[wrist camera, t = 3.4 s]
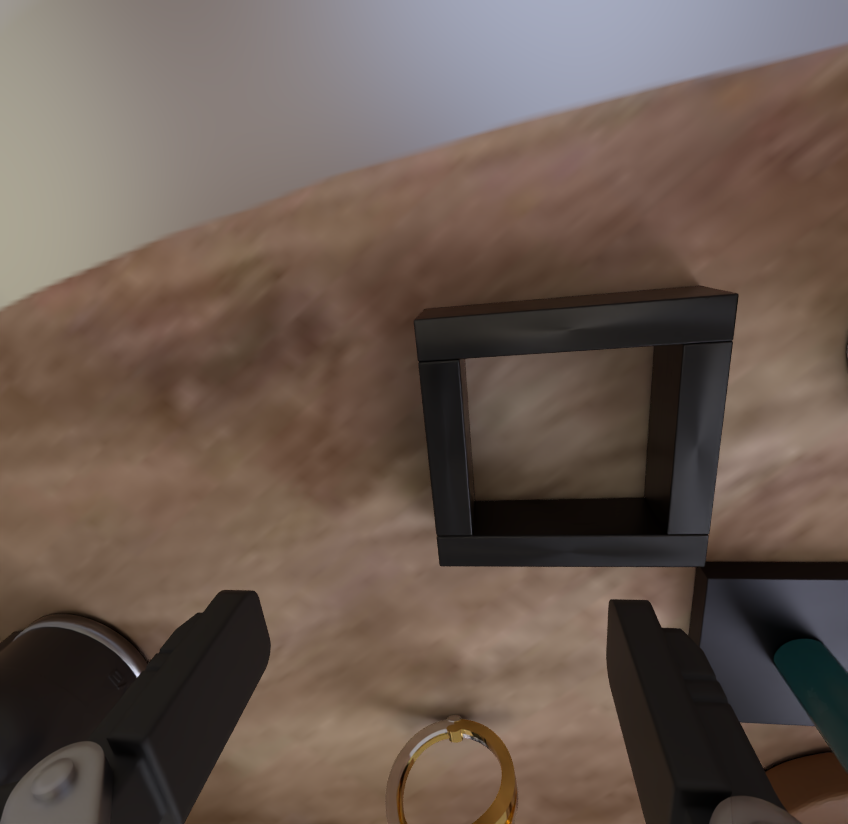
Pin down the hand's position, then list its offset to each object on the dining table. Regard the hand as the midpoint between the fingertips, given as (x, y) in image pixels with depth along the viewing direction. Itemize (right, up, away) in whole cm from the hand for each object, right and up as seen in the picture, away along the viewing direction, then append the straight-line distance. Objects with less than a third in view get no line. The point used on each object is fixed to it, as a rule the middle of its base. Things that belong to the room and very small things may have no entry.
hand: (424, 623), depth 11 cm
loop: (+6, +4, +10) cm, 13 cm away
